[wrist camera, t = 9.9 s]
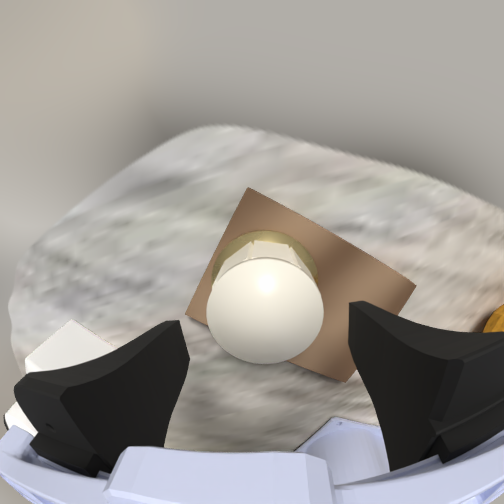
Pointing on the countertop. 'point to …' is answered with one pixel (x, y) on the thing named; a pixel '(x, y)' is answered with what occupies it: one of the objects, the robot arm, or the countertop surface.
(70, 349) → the medicine bottle
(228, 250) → the knob
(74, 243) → the countertop surface
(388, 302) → the board
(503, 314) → the potato
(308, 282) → the cap
